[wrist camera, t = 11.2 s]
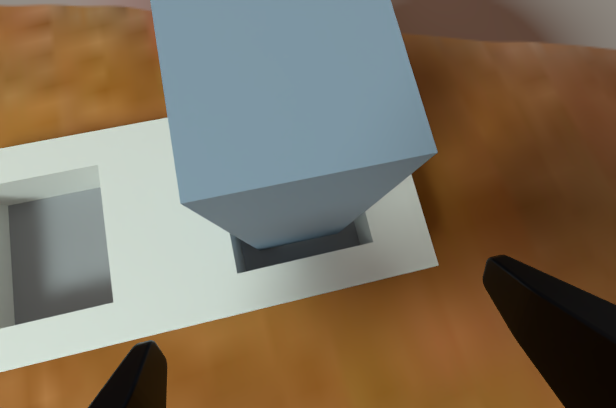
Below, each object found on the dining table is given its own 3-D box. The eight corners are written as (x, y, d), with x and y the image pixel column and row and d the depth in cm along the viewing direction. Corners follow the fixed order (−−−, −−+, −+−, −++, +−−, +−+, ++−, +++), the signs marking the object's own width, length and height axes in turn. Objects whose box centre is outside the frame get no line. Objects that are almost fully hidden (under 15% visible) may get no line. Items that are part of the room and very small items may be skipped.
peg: (337, 233, 18) (437, 152, 6) (259, 250, 18) (180, 204, 5) (320, 159, 19) (373, -55, 7) (244, 174, 19) (146, -24, 6)
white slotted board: (409, 266, 19) (438, 265, 15) (-23, 370, 17) (-116, 400, 13) (365, 113, 21) (382, 77, 17) (-29, 190, 19) (-113, 169, 15)
